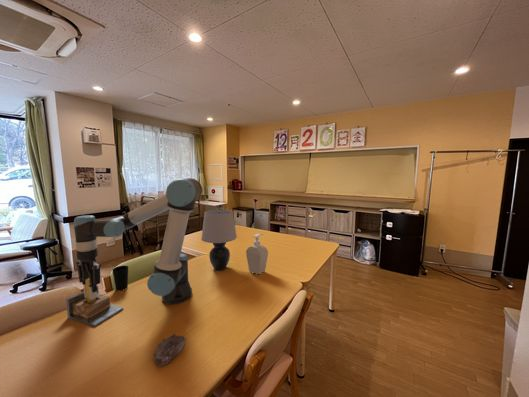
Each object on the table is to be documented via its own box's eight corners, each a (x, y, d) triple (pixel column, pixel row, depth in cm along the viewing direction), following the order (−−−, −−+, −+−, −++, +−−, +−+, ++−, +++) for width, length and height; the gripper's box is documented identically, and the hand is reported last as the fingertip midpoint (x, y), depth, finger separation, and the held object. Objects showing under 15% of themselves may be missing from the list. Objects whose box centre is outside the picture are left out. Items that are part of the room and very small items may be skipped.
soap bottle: (269, 271, 150) (269, 234, 147) (260, 276, 142) (260, 237, 139) (255, 266, 157) (255, 231, 154) (246, 271, 149) (245, 234, 146)
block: (110, 306, 108) (109, 296, 107) (88, 318, 98) (87, 308, 98) (96, 302, 111) (95, 292, 110) (73, 314, 102) (72, 303, 101)
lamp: (194, 270, 151) (192, 212, 146) (219, 259, 171) (218, 208, 167) (220, 279, 138) (219, 216, 134) (243, 265, 158) (243, 211, 154)
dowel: (98, 305, 105) (95, 277, 104) (90, 309, 102) (88, 280, 101) (93, 304, 106) (91, 276, 105) (86, 308, 103) (83, 279, 102)
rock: (147, 364, 76) (146, 352, 76) (169, 340, 87) (169, 329, 87) (166, 370, 74) (166, 357, 74) (187, 345, 85) (187, 334, 85)
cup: (122, 292, 123) (120, 271, 121) (110, 290, 124) (108, 270, 123) (132, 285, 130) (131, 266, 129) (121, 284, 132) (120, 265, 130)
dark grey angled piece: (123, 309, 107) (121, 291, 106) (94, 326, 95) (93, 307, 94) (97, 302, 113) (96, 285, 112) (67, 317, 101) (65, 299, 100)
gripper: (107, 248, 102) (111, 296, 105) (84, 244, 108) (87, 290, 110) (90, 254, 95) (94, 305, 98) (66, 249, 100) (70, 298, 103)
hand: (91, 297), depth 104 cm, fingers closed on dowel, 3 cm apart
